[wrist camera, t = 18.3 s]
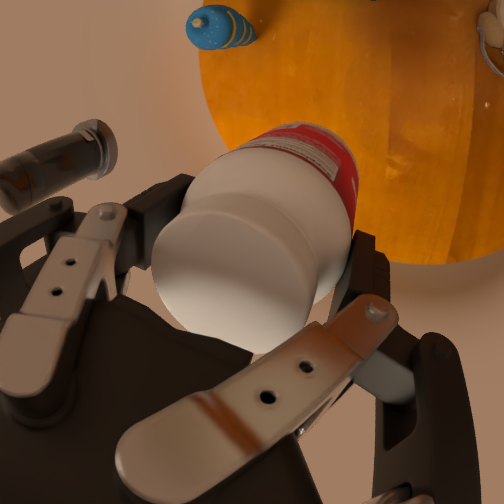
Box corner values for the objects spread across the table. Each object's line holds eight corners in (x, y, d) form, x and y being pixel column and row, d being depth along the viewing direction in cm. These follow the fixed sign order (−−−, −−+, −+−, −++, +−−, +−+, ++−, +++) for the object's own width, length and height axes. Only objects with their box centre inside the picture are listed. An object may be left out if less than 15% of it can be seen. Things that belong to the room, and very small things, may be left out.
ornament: (269, 57, 35) (218, 48, 23) (232, 54, 36) (168, 49, 24) (274, 21, 32) (223, -5, 20) (236, 19, 33) (172, -1, 21)
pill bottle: (325, 242, 19) (271, 395, 10) (237, 191, 19) (119, 302, 10) (380, 157, 15) (392, 274, 6) (279, 100, 16) (153, 137, 7)
